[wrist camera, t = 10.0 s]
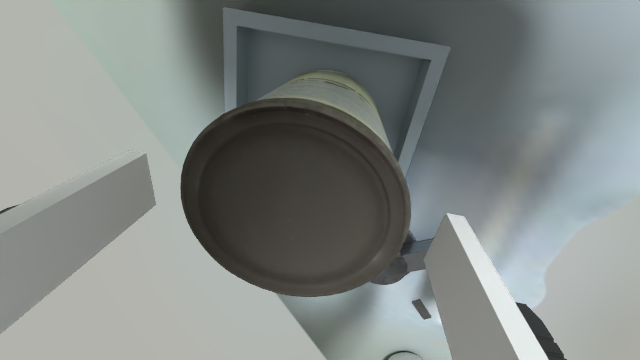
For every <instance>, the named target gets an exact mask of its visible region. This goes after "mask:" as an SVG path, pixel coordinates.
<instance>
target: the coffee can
mask: <svg viewBox="0 0 640 360" xmlns="http://www.w3.org/2000/svg"><path fill="white" fill-rule="evenodd" d="M181 200H182V205H183V209H184V213H185V216H186V219H187V221H188V223H189V225H190V228H191V229H192V231H193V233H194V235H195V236H196V238H197V239H198V240H199V242H200V243H201V245H202V246H203V247H204V248H205V250H206V251H207V252H208V253H209V254H210V255H211V256H212V257H213V258H214V259H215V260H216V261H217V262H218V263H219V264H220V265H221V266H223V267H224V268H225V269H226V270H228V271H229V272H231V273H232V274H234V275H236V276H237V277H239V278H241V279H243V280H245V281H247V282H248V283H250V284H253V285H256V286H258V287H260V288H263V289H266V290H269V291H272V292H276V293H280V294H284V295H291V296H301V297H318V296H328V295H333V294H338V293H343V292H346V291H349V290H352V289H354V288H357V287H359V286H361V285H363V284H365V283H367V282H369V281H370V280H372V279H373V278H375V277H376V276H377V275H379V274H380V273H381V272H382V271H384V270H385V269H386V268H387V267H388V266H389V265H390V264H391V262H392V261H393V260H394V259H395V257H396V256H397V255H398V253H399V251H400V250H401V248H402V246H403V244H404V241H405V239H406V236H407V233H408V230H409V225H410V218H411V204H410V195H409V191H408V187H407V183H406V180H405V177H404V175H403V172H402V170H401V167H400V165H399V163H398V162H397V160H396V158H395V156H394V155H393V153H392V150H391V147H390V145H389V142H388V139H387V136H386V133H385V130H384V128H383V125H382V122H381V119H380V115H379V111H378V108H377V105H376V103H375V101H374V99H373V97H372V96H371V94H370V93H369V91H368V90H367V89H366V88H365V87H364V86H363V85H362V84H361V83H360V82H359V81H357V80H356V79H355V78H353V77H351V76H349V75H347V74H345V73H342V72H339V71H335V70H329V69H319V70H312V71H308V72H304V73H302V74H300V75H298V76H296V77H294V78H292V79H291V80H290V81H288V82H287V83H286V84H284V85H282V86H280V87H278V88H277V89H275V90H273V91H272V92H270V93H268V94H266V95H265V96H263V97H261V98H259V99H258V100H256V101H253V102H250V103H246V104H244V105H242V106H239V107H237V108H234V109H232V110H230V111H228V112H226V113H224V114H223V115H221V116H220V117H219V118H217V119H216V120H214V121H213V122H212V123H210V124H209V125H208V126H207V127H206V128H205V129H204V130H203V131H202V132H201V133H200V134H199V135H198V137H197V138H196V139H195V141H194V142H193V144H192V146H191V148H190V150H189V152H188V154H187V156H186V159H185V162H184V165H183V170H182V174H181Z"/></svg>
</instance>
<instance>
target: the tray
mask: <svg viewBox="0 0 640 360" xmlns="http://www.w3.org/2000/svg"><path fill="white" fill-rule="evenodd" d="M223 49H224V102H225V113H226V112H228V111H230V110H232V109H234V108H237V107H239V106H242V105H244V104H246V103H250V102H253V101H256V100H258V99H259V98H261V97H263V96H265V95H266V94H268V93H270V92H272V91H273V90H275V89H277V88H278V87H280V86H282V85H284V84H286V83H287V82H288V81H290V80H291V79H292V78H294V77H296V76H298V75H300V74H302V73H304V72H308V71H312V70H319V69H329V70H335V71H339V72H342V73H345V74H347V75H349V76H351V77H353V78H355V79H356V80H357V81H359V82H360V83H361V84H362V85H363V86H364V87H365V88H366V89H367V90H368V91H369V93H370V94H371V96H372V97H373V99H374V101H375V103H376V105H377V108H378V111H379V115H380V119H381V122H382V125H383V128H384V130H385V133H386V136H387V139H388V142H389V145H390V147H391V150H392V153H393V155H394V156H395V158H396V160H397V162H398V163H399V165H400V167H401V170H402V172H403V175H404V177H406V174H407V171H408V168H409V165H410V163H411V160H412V157H413V154H414V151H415V148H416V146H417V143H418V140H419V137H420V134H421V131H422V129H423V126H424V123H425V120H426V117H427V114H428V112H429V109H430V106H431V103H432V100H433V97H434V95H435V92H436V89H437V86H438V83H439V80H440V77H441V75H442V72H443V69H444V66H445V63H446V60H447V58H448V55H449V52H450V49H451V47H450V46H444V45H438V44H433V43H427V42H421V41H416V40H410V39H404V38H398V37H393V36H387V35H381V34H376V33H370V32H364V31H358V30H353V29H347V28H341V27H336V26H330V25H324V24H319V23H313V22H307V21H301V20H296V19H290V18H284V17H279V16H273V15H267V14H261V13H256V12H250V11H244V10H239V9H233V8H227V7H223Z"/></svg>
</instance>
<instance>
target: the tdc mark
mask: <svg viewBox="0 0 640 360" xmlns="http://www.w3.org/2000/svg"><path fill="white" fill-rule="evenodd" d="M412 303H413V304H414V306H415V307H416V309H417V310H418V311H419V313H420V314H421V316H422V317H423V319H428V318H431V315H430V314H429V312H428V311H427V309H426V308H425V306H424V305H423V303H422V302H421V300H420V299H419V300H416V301H412Z"/></svg>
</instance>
